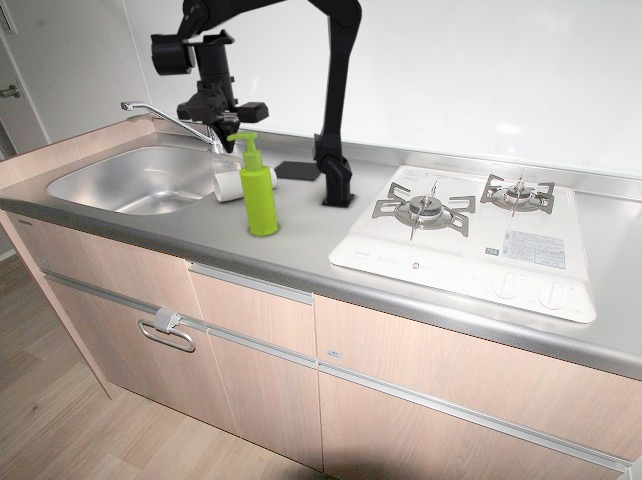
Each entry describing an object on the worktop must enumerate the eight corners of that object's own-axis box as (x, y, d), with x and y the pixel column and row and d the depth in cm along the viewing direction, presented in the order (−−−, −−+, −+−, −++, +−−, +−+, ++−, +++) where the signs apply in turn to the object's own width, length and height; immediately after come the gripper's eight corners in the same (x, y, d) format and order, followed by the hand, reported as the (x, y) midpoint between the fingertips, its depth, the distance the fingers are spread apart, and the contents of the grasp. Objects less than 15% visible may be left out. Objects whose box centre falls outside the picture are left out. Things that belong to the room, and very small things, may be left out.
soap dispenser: (247, 223, 80) (229, 130, 68) (278, 221, 80) (265, 127, 68) (244, 237, 75) (224, 139, 64) (277, 234, 75) (263, 137, 64)
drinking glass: (274, 194, 97) (219, 206, 91) (266, 171, 97) (210, 181, 91) (281, 184, 91) (222, 196, 84) (272, 159, 91) (213, 169, 85)
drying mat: (313, 181, 98) (313, 179, 97) (266, 177, 102) (266, 175, 101) (327, 165, 107) (327, 163, 106) (284, 162, 111) (284, 160, 110)
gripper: (146, 79, 67) (171, 162, 76) (234, 80, 61) (249, 170, 70) (184, 70, 75) (202, 146, 84) (264, 70, 69) (274, 151, 79)
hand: (230, 153), depth 79 cm, fingers closed
